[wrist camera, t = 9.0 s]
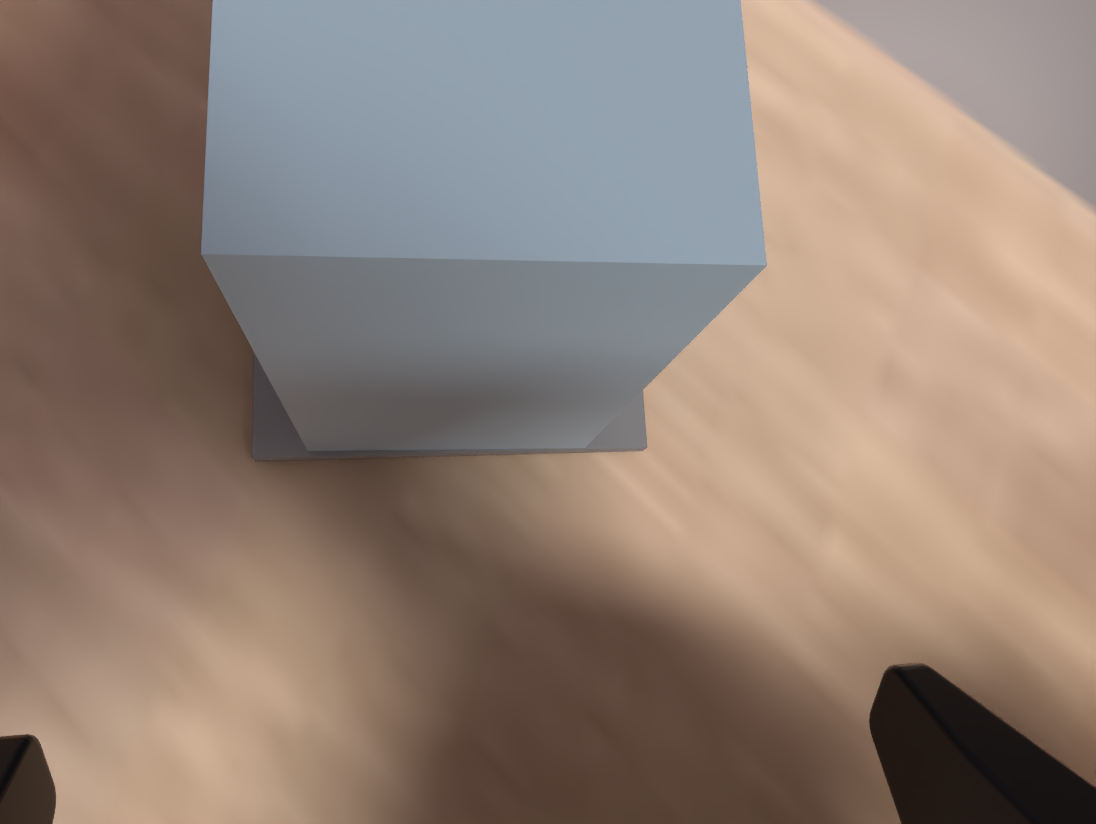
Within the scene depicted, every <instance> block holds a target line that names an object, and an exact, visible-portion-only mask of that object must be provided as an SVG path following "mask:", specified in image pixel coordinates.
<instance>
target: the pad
mask: <svg viewBox="0 0 1096 824" xmlns="http://www.w3.org/2000/svg"><path fill="white" fill-rule="evenodd" d="M646 448H647V438H646V426H645V413H644V400H643V390H642V391H641V392H640V393H639V394H638V395H637V396H636V397H635V398H634V399H633V400H632V401H631V402H630V403H629V404H628V405H627V406H626V407H625V408H624V409H623V410H622V411H621V412H620V413H619V414H618V415H617V416H616V417H615V418H614V419H613V420H612V421H611V422H610V423H609V424H608V425H607V426H606V427H605V428H604V429H603V430H602V431H601V432H600V433H599V434H598V435H597V436H596V437H595V438H594V439H593V440H592V441H591V442H590V443H589V444H588V445H587V446H586V447H585V448H544V449H459V450H375V451H307V449H306V447H305V445H304V443H303V442H302V440H301V438H300V436H299V434H298V432H297V431H296V429H295V427H294V425H293V423H292V421H291V419H290V418H289V416H288V414H287V412H286V410H285V408H284V407H283V405H282V403H281V401H280V399H279V397H278V395H277V394H276V392H275V390H274V388H273V386H272V384H271V383H270V381H269V379H268V377H267V375H266V373H265V371H264V370H263V368H262V366H261V364H260V362H259V360H258V359H257V357H256V355H255V353H254V367H253V423H252V458H253V459H254V460H255V461H272V460H311V459H350V458H389V457H429V456H468V455H507V454H546V453H585V452H624V451H643V450H645V449H646Z"/></svg>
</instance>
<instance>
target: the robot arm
mask: <svg viewBox="0 0 1096 824" xmlns="http://www.w3.org/2000/svg"><path fill="white" fill-rule="evenodd" d="M869 724H870V731H871V735H872V738H873V741H874V744H875V747H876V750H877V753H878V756H879V759H880V762H881V765H882V768H883V771H884V774H885V777H886V780H887V783H888V786H889V788H890V791H891V794H892V797H893V800H894V803H895V806H896V809H897V812H898V815H899V818H900V821H901V824H1096V787H1094V786H1093V785H1092V784H1090V783H1089V782H1087V781H1086V780H1085V779H1083V778H1082V777H1081V776H1079V775H1078V774H1077V773H1075V772H1074V771H1072V770H1071V769H1070V768H1068V767H1067V766H1066V765H1064V764H1063V763H1061V762H1060V761H1059V760H1057V759H1056V758H1055V757H1053V756H1052V755H1050V754H1049V753H1048V752H1046V751H1045V750H1044V749H1042V748H1041V747H1039V746H1038V745H1037V744H1035V743H1034V742H1033V741H1031V740H1030V739H1028V738H1027V737H1026V736H1024V735H1023V734H1022V733H1020V732H1019V731H1017V730H1016V729H1015V728H1013V727H1012V726H1011V725H1009V724H1008V723H1006V722H1005V721H1004V720H1002V719H1001V718H1000V717H998V716H997V715H996V714H994V713H993V712H991V711H990V710H989V709H987V708H986V707H985V706H983V705H982V704H980V703H979V702H978V701H976V700H975V699H974V698H972V697H971V696H969V695H968V694H967V693H965V692H964V691H963V690H961V689H960V688H958V687H957V686H956V685H954V684H953V683H952V682H950V681H949V680H947V679H946V678H945V677H943V676H942V675H941V674H939V673H938V672H936V671H935V670H934V669H932V668H931V667H929V666H927V665H925V664H922V663H909V664H897V665H892V666H890V667H888V668H887V669H886V670H885V672H884V674H883V677H882V680H881V683H880V685H879V688H878V691H877V694H876V697H875V700H874V703H873V705H872V708H871V711H870V718H869ZM55 807H56V791H55V785H54V782H53V779H52V776H51V773H50V770H49V767H48V764H47V761H46V759H45V756H44V753H43V750H42V747H41V744H40V742H39V740H38V739H37V738H36V737H35V736H33V735H28V734H26V735H14V736H1V737H0V824H53V819H54V814H55Z"/></svg>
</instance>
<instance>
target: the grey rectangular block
mask: <svg viewBox="0 0 1096 824" xmlns="http://www.w3.org/2000/svg"><path fill="white" fill-rule="evenodd" d="M201 255H202V257H203V259H204V261H205V263H206V264H207V266H208V268H209V270H210V272H211V274H212V276H213V277H214V279H215V281H216V283H217V285H218V287H219V288H220V290H221V292H222V294H223V296H224V298H225V300H226V301H227V303H228V305H229V307H230V309H231V311H232V312H233V314H234V316H235V318H236V320H237V322H238V324H239V325H240V327H241V329H242V331H243V333H244V335H245V336H246V338H247V340H248V342H249V344H250V346H251V347H252V349H253V351H254V353H255V355H256V357H257V359H258V360H259V362H260V364H261V366H262V368H263V370H264V371H265V373H266V375H267V377H268V379H269V381H270V383H271V384H272V386H273V388H274V390H275V392H276V394H277V395H278V397H279V399H280V401H281V403H282V405H283V407H284V408H285V410H286V412H287V414H288V416H289V418H290V419H291V421H292V423H293V425H294V427H295V429H296V431H297V432H298V434H299V436H300V438H301V440H302V442H303V443H304V445H305V447H306V449H307V451H375V450H459V449H544V448H585V447H586V446H587V445H588V444H589V443H590V442H591V441H592V440H593V439H594V438H595V437H596V436H597V435H598V434H599V433H600V432H601V431H602V430H603V429H604V428H605V427H606V426H607V425H608V424H609V423H610V422H611V421H612V420H613V419H614V418H615V417H616V416H617V415H618V414H619V413H620V412H621V411H622V410H623V409H624V408H625V407H626V406H627V405H628V404H629V403H630V402H631V401H632V400H633V399H634V398H635V397H636V396H637V395H638V394H639V393H640V392H641V391H642V390H643V389H644V388H645V387H646V386H647V385H648V384H649V383H650V382H651V381H652V380H653V379H654V378H655V377H656V376H657V375H658V374H659V373H660V372H661V371H662V370H663V369H664V368H665V367H666V366H667V365H668V364H669V363H670V362H671V361H672V360H673V359H674V358H675V357H676V356H677V355H678V354H679V353H680V352H681V351H682V350H683V349H684V348H685V347H686V346H687V345H688V344H689V343H690V342H691V341H692V340H693V339H694V338H695V337H696V336H697V335H698V334H699V333H700V332H701V331H702V330H703V329H704V328H705V327H706V326H707V325H708V324H709V323H710V322H711V321H712V320H713V319H714V318H715V317H716V316H717V315H718V314H719V313H720V312H721V311H722V310H723V309H724V308H725V307H726V306H727V305H728V304H729V303H730V302H731V301H732V300H733V299H734V298H735V297H736V296H737V295H738V294H739V293H740V292H741V291H742V290H743V289H744V288H745V287H746V286H747V285H748V284H749V283H750V282H751V281H752V280H753V279H754V278H755V277H756V276H757V275H758V274H759V273H760V272H761V271H762V270H763V269H764V268H765V267H766V266H767V262H766V252H765V242H764V232H763V222H762V212H761V202H760V192H759V182H758V172H757V162H756V152H755V142H754V132H753V122H752V112H751V102H750V91H749V81H748V71H747V61H746V51H745V41H744V31H743V21H742V11H741V1H740V0H213V3H212V24H211V46H210V68H209V89H208V111H207V132H206V154H205V175H204V197H203V219H202V240H201Z"/></svg>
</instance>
